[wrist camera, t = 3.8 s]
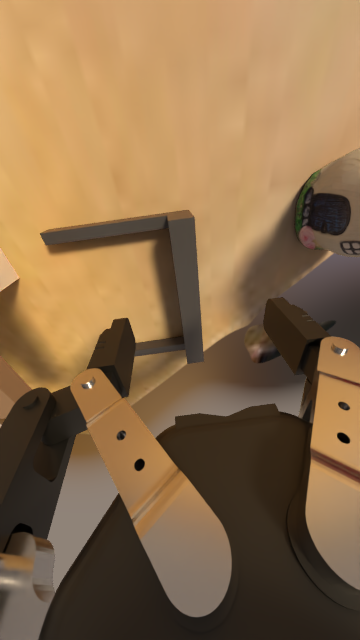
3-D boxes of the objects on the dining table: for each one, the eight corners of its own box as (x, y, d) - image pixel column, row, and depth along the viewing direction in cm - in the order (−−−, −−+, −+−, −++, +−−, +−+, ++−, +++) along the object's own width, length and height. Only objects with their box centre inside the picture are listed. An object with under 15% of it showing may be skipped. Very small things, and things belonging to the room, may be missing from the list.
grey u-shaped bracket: (105, 352, 28) (98, 376, 25) (47, 229, 18) (23, 241, 15) (198, 339, 28) (203, 361, 24) (188, 209, 18) (194, 217, 15)
